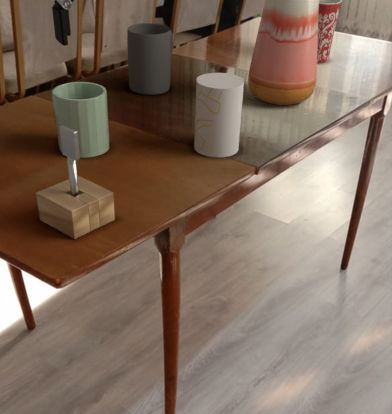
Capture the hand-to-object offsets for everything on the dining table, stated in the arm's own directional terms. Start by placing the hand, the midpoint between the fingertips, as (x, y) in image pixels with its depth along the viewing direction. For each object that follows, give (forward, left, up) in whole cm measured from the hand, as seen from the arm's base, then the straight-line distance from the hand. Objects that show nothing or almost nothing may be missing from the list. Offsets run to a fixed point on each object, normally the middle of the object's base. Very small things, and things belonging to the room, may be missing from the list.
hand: (24, 46), depth 77 cm
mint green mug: (+21, +18, -24) cm, 37 cm away
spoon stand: (+3, -3, -24) cm, 25 cm away
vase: (+68, +6, -25) cm, 73 cm away
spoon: (+3, -3, -24) cm, 25 cm away
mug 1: (+54, +30, -25) cm, 67 cm away
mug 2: (+97, +18, -25) cm, 102 cm away
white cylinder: (+38, -1, -25) cm, 45 cm away
